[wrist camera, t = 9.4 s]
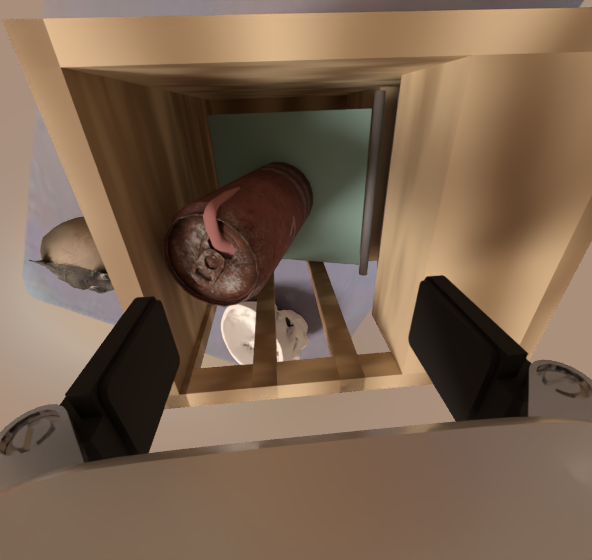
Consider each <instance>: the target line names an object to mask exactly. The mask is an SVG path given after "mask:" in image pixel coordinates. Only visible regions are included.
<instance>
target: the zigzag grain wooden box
mask: <svg viewBox="0 0 592 560" xmlns="http://www.w3.org/2000/svg"><path fill="white" fill-rule="evenodd" d="M2 22H3V24H4V27H5V29H6V31H7V34H8V36H9V38H10V41H11V43H12V45H13V48H14V51H15V53H16V55H17V58H18V60H19V63H20V65H21V67H22V69H23V72H24V75H25V77H26V79H27V82H28V84H29V86H30V89H31V91H32V94H33V96H34V98H35V101H36V103H37V106H38V108H39V110H40V113H41V115H42V118H43V120H44V122H45V125H46V127H47V130H48V132H49V134H50V137H51V139H52V141H53V144H54V146H55V149H56V151H57V153H58V156H59V158H60V161H61V163H62V165H63V168H64V170H65V173H66V175H67V177H68V180H69V182H70V185H71V187H72V189H73V192H74V194H75V196H76V199H77V201H78V204H79V206H80V208H81V211H82V213H83V216H84V218H85V220H86V223H87V225H88V228H89V230H90V232H91V235H92V237H93V240H94V242H95V244H96V247H97V249H98V251H99V254H100V256H101V259H102V261H103V263H104V266H105V268H106V271H107V273H108V275H109V278H110V280H111V283H112V285H113V287H114V290H115V292H116V295H117V297H118V299H119V302H120V304H121V306H122V309H123V311H124V312H125V311H126V310H127V308H128V307H129V305H130V304H131V303H132V301H133V300H134V299H135V298H137V297H149V296H154V297H155V298H156V299H157V300H161V302H162V304H163V307H164V310H165V313H166V316H167V319H168V322H169V325H170V328H171V331H172V334H173V337H174V340H175V343H176V347H177V350H178V353H179V356H180V365H179V368H178V371H177V374H176V376H175V379H174V382H173V385H172V388H171V391H170V394H169V396H168V399H167V402H166V405H165V408H164V409H171V408H181V407H192V406H202V405H212V404H223V403H235V402H244V401H256V400H267V399H278V398H288V397H299V396H310V395H320V394H331V393H342V392H352V391H363V390H373V389H385V388H395V387H406V386H416V385H427V384H433V383H432V381H431V380H430V378H429V376H428V375H427V373H426V371H425V370H424V368H423V366H422V365H421V363H420V361H419V360H418V358H417V357H416V355H415V353H414V352H413V350H412V348H411V347H410V345H409V340H408V336H409V331H410V327H411V322H412V317H413V313H414V308H415V303H416V299H417V294H418V289H419V285H420V282H421V281H424V279H425V278H426V277H427V276H439V275H444V276H445V277H446V278H447V279H449V280H450V281H451V282H452V283H453V284H454V285H455V286H456V287H457V288H458V289H459V290H460V291H461V292H463V293H464V294H465V295H466V296H467V297H468V298H469V299H470V300H471V301H472V302H473V303H474V304H476V305H477V306H478V307H479V308H480V309H481V310H482V311H483V312H484V313H485V314H486V315H487V316H489V317H490V318H491V319H492V320H493V321H494V322H495V323H496V324H497V325H498V326H499V327H500V328H501V329H503V330H504V331H505V332H506V333H507V334H508V335H509V336H510V337H511V338H512V339H513V340H514V341H516V342H517V343H518V344H519V345H520V346H521V347H522V348H523V349H524V350H525V351H526V352H527V353H529V354H528V355H527V357H526V359H527V360H528V361H529V360H530V358H531V356H532V354H533V352H534V350H535V348H536V346H537V344H538V342H539V341H540V339H541V337H542V335H543V333H544V331H545V329H546V327H547V325H548V323H549V321H550V319H551V318H552V316H553V314H554V312H555V310H556V308H557V306H558V304H559V302H560V300H561V298H562V297H563V294H564V293H565V291H566V289H567V287H568V285H569V283H570V281H571V279H572V277H573V276H574V273H575V272H576V270H577V268H578V266H579V264H580V262H581V260H582V258H583V256H584V254H585V252H586V250H587V249H588V247H589V245H590V243H591V241H592V7H590V8H541V9H492V10H444V11H395V12H347V13H298V14H250V15H201V16H153V17H104V18H56V19H9V20H8V19H7V20H2ZM375 91H386V96H385V106H384V116H383V125H382V135H381V144H380V154H379V163H378V173H377V183H376V192H375V202H374V211H373V221H372V231H371V240H370V250H369V259H368V261H375V260H378V252H379V244H380V236H381V228H382V220H383V212H384V203H385V195H386V187H387V179H388V171H389V163H390V154H391V146H392V138H393V130H394V122H395V113H396V105H397V97H398V93H399V92H400V93H399V101H398V109H397V117H396V125H395V133H394V141H393V149H392V157H391V165H390V173H389V181H388V189H387V197H386V205H385V213H384V221H383V229H382V237H381V245H380V253H379V261H378V269H377V277H376V286H375V294H374V302H373V310H372V316H373V318H374V320H375V321H376V324H377V326H378V328H379V330H380V331H381V333H382V335H383V337H384V339H385V341H386V343H387V345H388V347H389V349H390V351H391V352H385V353H374V354H361V355H357V353H356V350H355V348H354V345H353V343H352V339H351V337H350V334H349V331H348V329H347V326H346V323H345V320H344V318H343V315H342V312H341V309H340V307H339V304H338V301H337V299H336V296H335V293H334V290H333V288H332V285H331V282H330V279H329V277H328V274H327V271H326V269H325V266H324V263H323V262H318V261H306V262H307V266H308V270H309V274H310V278H311V282H312V286H313V290H314V294H315V297H316V301H317V305H318V309H319V313H320V317H321V321H322V325H323V329H324V333H325V337H326V341H327V344H328V348H329V352H330V356H331V357H327V358H315V359H304V360H292V361H281V362H277V342H276V314H275V286H274V272H273V273H272V275H271V277H270V278H269V280H268V281H267V283H266V284H265V286H264V287H263V288H262V289H261V291H260V292H259V293H258V294H257V306H256V322H255V339H254V355H253V364H246V365H234V366H223V367H212V368H201V364H202V360H203V357H204V353H205V349H206V345H207V342H208V338H209V334H210V330H211V327H212V323H213V319H214V315H215V312H216V308H217V306H215V305H210V304H207V303H205V302H202V301H200V300H197V299H196V298H194V297H193V296H191V295H190V294H188V293H187V292H186V291H184V290H183V289H182V287H181V286H180V285H179V284H178V283H177V282H176V281H175V280H174V279H173V277H172V275H171V273H170V272H169V270H168V268H167V267H166V263H165V260H164V256H163V238H164V235H165V233H166V231H167V228H168V227H169V224H170V222H171V220H172V217H173V216H174V215H175V214H176V213H177V212H178V211H179V210H180V209H181V208H183V207H184V206H186V205H188V204H190V203H192V202H193V201H195V200H197V199H199V198H201V197H203V196H205V195H207V194H209V193H211V192H213V191H215V190H217V189H219V181H218V175H217V169H216V163H215V157H214V151H213V145H212V139H211V133H210V127H209V121H208V115H222V114H247V113H272V112H298V111H323V110H348V109H372V115H371V127H370V138H369V150H368V162H367V173H366V185H365V196H364V208H363V220H364V209H365V198H366V186H367V175H368V164H369V152H370V141H371V129H372V118H373V107H374V95H375ZM363 220H362V231H361V243H362V232H363ZM361 243H360V255H361Z"/></svg>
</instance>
